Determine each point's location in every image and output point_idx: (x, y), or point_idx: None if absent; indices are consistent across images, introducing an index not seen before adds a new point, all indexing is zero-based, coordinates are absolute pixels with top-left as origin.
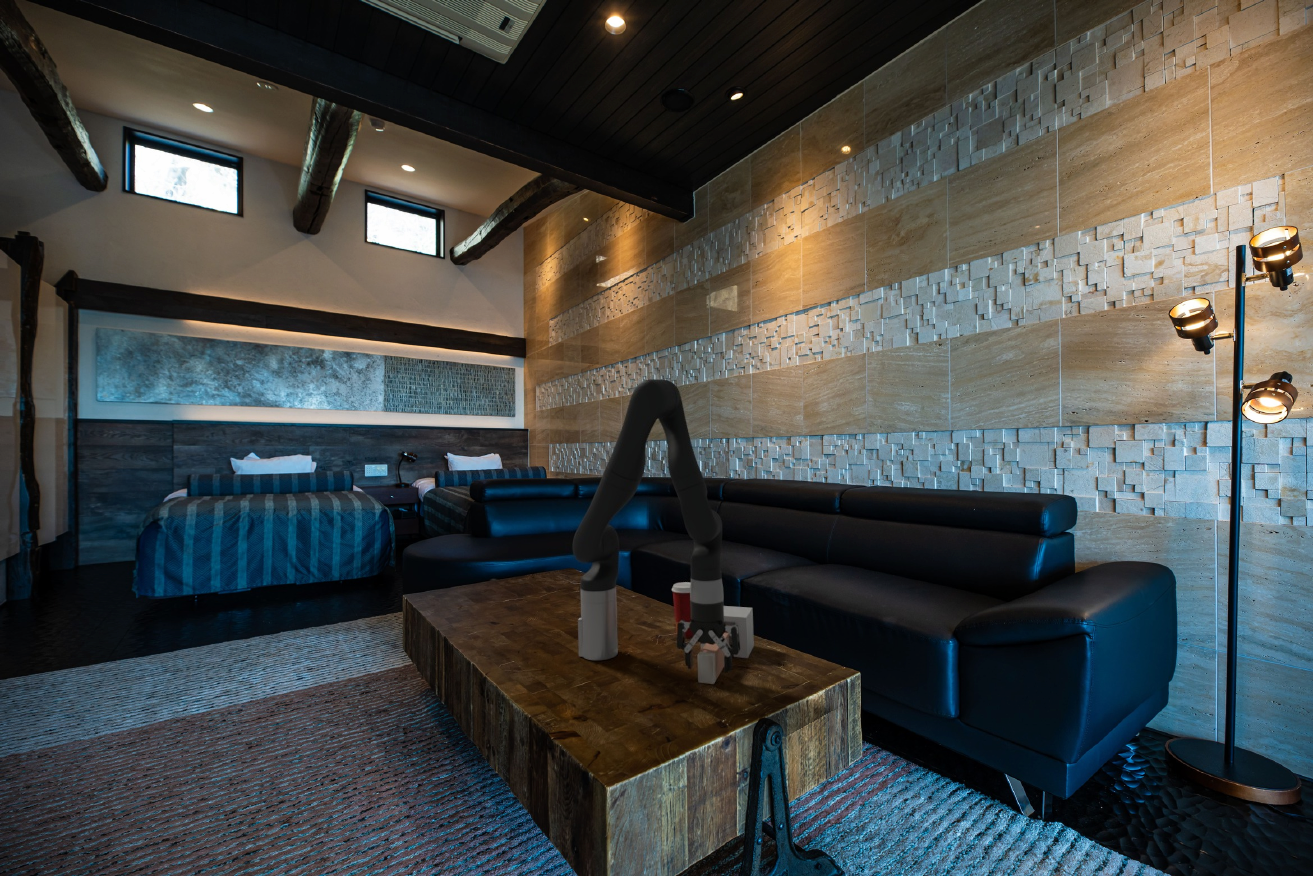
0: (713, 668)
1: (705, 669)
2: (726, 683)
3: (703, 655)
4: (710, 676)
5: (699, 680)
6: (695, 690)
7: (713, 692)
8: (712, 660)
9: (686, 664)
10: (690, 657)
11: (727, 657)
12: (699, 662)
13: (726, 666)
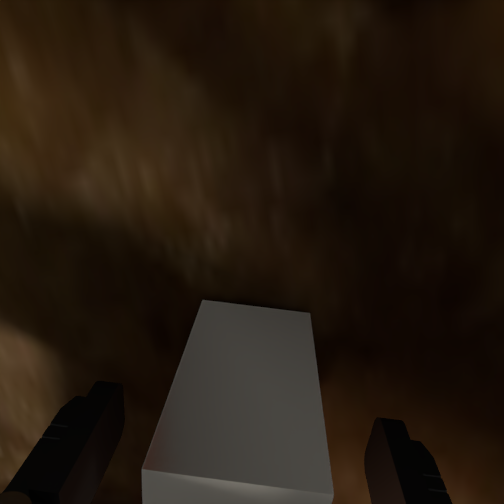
0: (177, 376)
1: (249, 369)
2: (133, 332)
3: (257, 485)
4: (214, 330)
5: (301, 320)
6: (317, 206)
7: (184, 194)
8: (161, 430)
9: (421, 450)
10: (404, 501)
11: (34, 491)
12: (305, 420)
13: (81, 416)
